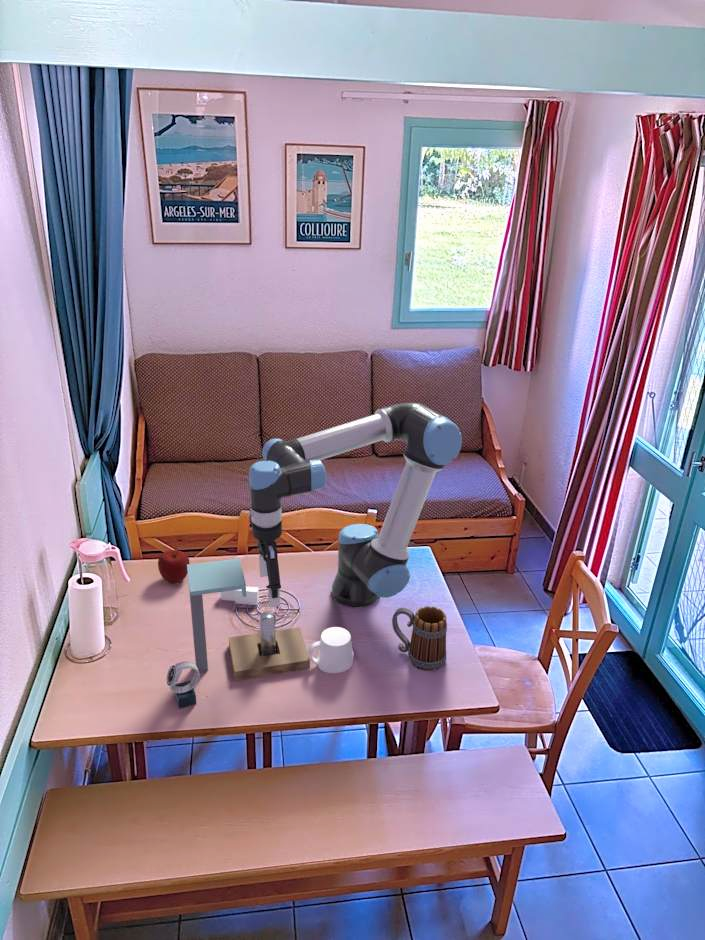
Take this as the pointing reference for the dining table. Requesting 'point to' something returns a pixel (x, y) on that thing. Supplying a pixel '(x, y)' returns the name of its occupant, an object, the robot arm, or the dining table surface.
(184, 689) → the watch
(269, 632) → the peg
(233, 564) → the light blue l-shaped bracket
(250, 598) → the napkin holder
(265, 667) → the socket board
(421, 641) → the mug
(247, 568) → the dining table surface
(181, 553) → the apple
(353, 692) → the dining table surface
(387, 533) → the robot arm
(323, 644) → the mug
